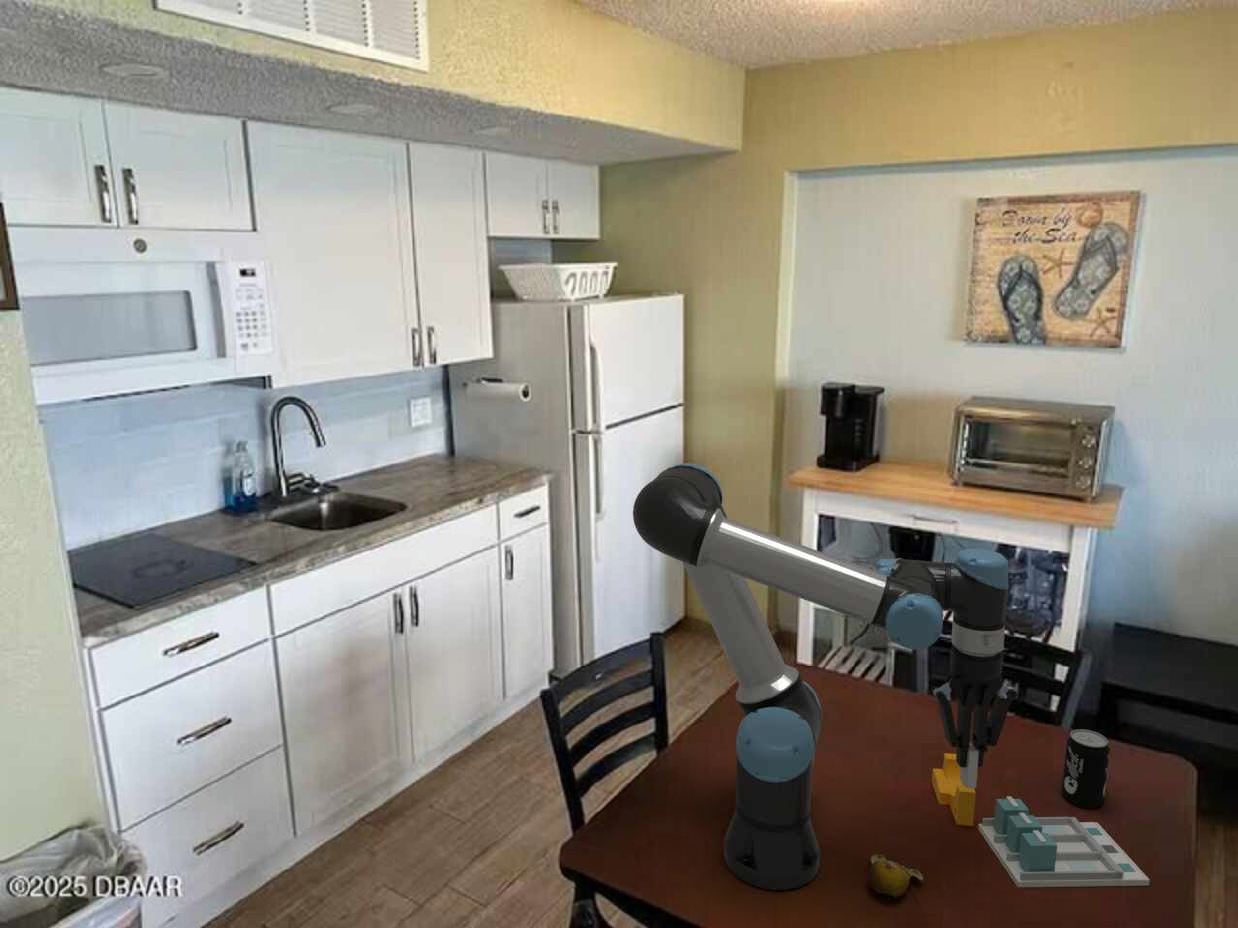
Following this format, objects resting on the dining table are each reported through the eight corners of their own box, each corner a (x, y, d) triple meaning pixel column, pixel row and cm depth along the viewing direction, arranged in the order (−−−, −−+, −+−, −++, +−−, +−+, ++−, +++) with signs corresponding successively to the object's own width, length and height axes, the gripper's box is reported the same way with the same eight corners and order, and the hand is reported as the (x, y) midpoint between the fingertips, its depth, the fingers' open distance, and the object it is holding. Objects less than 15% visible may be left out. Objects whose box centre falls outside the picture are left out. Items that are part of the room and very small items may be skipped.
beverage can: (1102, 814, 143) (1110, 751, 141) (1059, 802, 147) (1066, 740, 144) (1104, 795, 149) (1111, 734, 146) (1062, 784, 152) (1069, 724, 150)
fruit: (926, 875, 128) (927, 855, 127) (909, 910, 122) (910, 889, 121) (873, 854, 133) (874, 834, 132) (854, 886, 127) (855, 866, 126)
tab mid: (1014, 855, 131) (1017, 823, 130) (1005, 843, 134) (1008, 812, 133) (1039, 855, 131) (1042, 823, 130) (1030, 842, 134) (1033, 811, 133)
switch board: (1017, 887, 126) (1019, 874, 126) (978, 828, 140) (979, 817, 139) (1148, 885, 126) (1150, 872, 126) (1096, 827, 140) (1097, 815, 140)
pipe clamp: (931, 784, 153) (934, 752, 152) (956, 786, 152) (959, 754, 151) (945, 824, 141) (948, 790, 140) (972, 826, 141) (975, 792, 139)
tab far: (1001, 837, 136) (1004, 806, 134) (993, 825, 139) (996, 795, 137) (1026, 837, 136) (1029, 806, 135) (1017, 825, 139) (1020, 795, 137)
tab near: (1028, 874, 127) (1031, 841, 126) (1018, 861, 130) (1021, 829, 129) (1054, 874, 127) (1057, 841, 126) (1044, 860, 130) (1047, 829, 129)
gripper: (944, 659, 127) (936, 798, 131) (1030, 656, 127) (1019, 796, 131) (926, 639, 134) (919, 771, 139) (1007, 637, 134) (997, 769, 139)
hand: (968, 783), depth 135 cm, fingers closed
